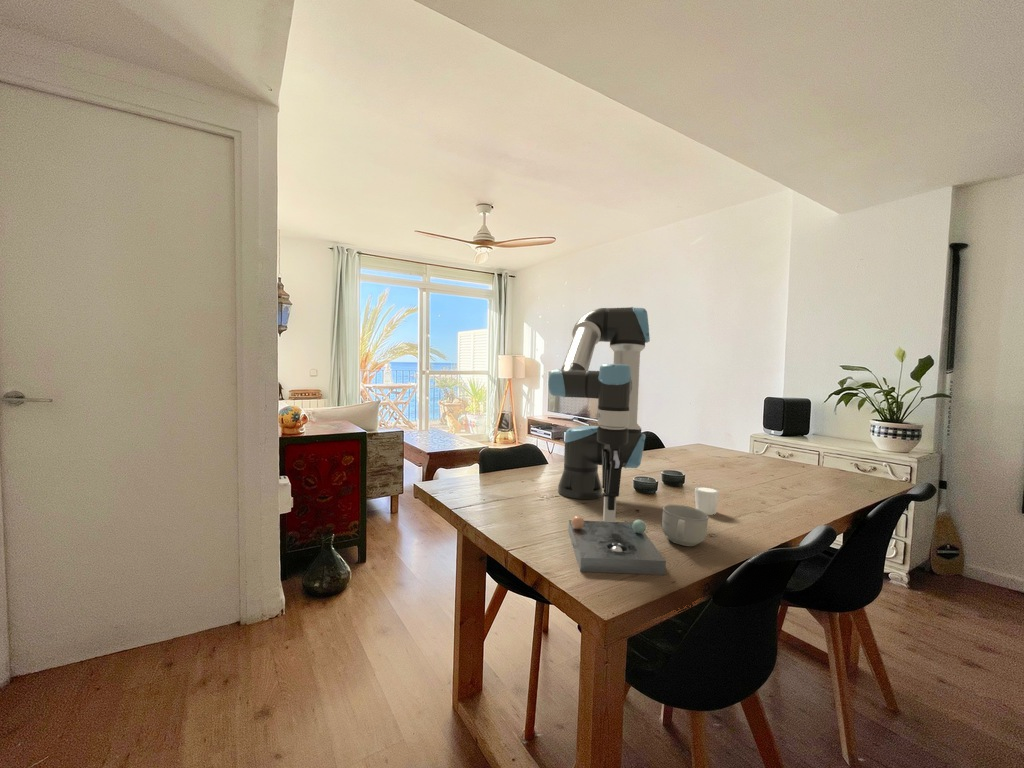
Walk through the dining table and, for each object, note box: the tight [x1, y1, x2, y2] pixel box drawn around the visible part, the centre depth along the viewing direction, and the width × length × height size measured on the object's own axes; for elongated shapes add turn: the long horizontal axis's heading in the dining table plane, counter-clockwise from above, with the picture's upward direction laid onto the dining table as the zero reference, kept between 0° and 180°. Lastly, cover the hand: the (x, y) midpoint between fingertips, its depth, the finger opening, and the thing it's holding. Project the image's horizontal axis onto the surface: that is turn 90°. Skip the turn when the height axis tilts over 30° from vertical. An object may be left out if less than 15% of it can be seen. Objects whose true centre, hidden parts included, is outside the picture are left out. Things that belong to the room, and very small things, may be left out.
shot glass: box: [694, 486, 720, 516], centre depth 130 cm, size 7×7×7 cm
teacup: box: [661, 504, 710, 547], centre depth 105 cm, size 14×11×8 cm
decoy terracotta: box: [571, 515, 585, 529], centre depth 105 cm, size 3×3×3 cm
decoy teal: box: [632, 519, 647, 533], centre depth 104 cm, size 3×3×3 cm
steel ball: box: [610, 546, 623, 552], centre depth 95 cm, size 3×3×3 cm
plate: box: [568, 519, 667, 576], centre depth 100 cm, size 22×18×3 cm
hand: (609, 520), depth 104 cm, fingers closed
